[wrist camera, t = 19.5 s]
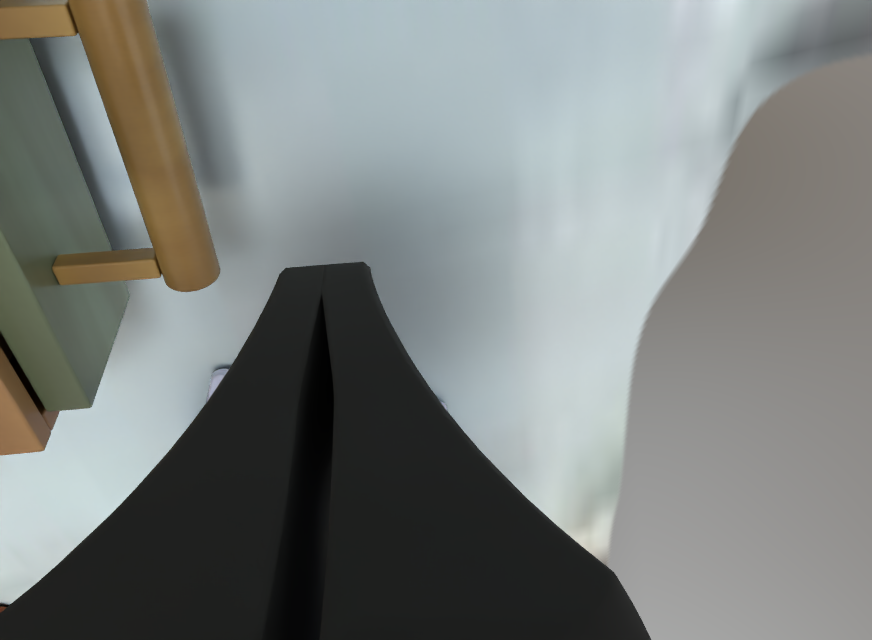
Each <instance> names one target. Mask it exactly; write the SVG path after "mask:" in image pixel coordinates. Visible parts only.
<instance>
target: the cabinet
mask: <svg viewBox="0 0 872 640" xmlns="http://www.w3.org/2000/svg"><path fill="white" fill-rule="evenodd" d="M59 412H60V411H51V412H48V411H46V409H45V408H44V406H43V404H42V402H41V401H40V399H39V397H38V396H37V394H36V392H35V390H34V389H33V387H32V385H31V384H30V382H29V380H28V378H27V377H26V375H25V373H24V372H23V370H22V368H21V367H20V365H19V363H18V361H17V360H16V358H15V356H14V355H13V354H12V356H11V358H10V360H8V359H7V357H6V355H5V354H4V352H3V350H2V348H1V347H0V455H9V454H20V453H30V452H40V451H44V450H45V447H46V445H47V442H48V440H49V437H50V434H51V430H52V429H53V427H54V424H55V422H56V419H57V417H58V414H59Z"/></svg>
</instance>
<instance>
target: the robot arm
mask: <svg viewBox="0 0 872 640" xmlns="http://www.w3.org/2000/svg"><path fill="white" fill-rule="evenodd" d="M0 640H651V638H650V636H649V634H648V632H647V630H646V628H645V626H644V624H643V622H642V620H641V618H640V616H639V614H638V612H637V610H636V609H635V607H634V605H633V603H632V601H631V600H630V598H629V596H628V595H627V593H626V591H625V589H624V588H623V586H622V585H621V583H620V581H619V580H618V578H617V576H616V575H615V574H614V572H613V571H612V570H611V569H609V568H608V567H607V566H606V565H604V564H603V563H602V562H601V561H599V560H598V559H597V558H595V557H594V556H593V555H592V554H590V553H589V552H588V551H587V550H585V549H584V548H583V547H582V546H581V545H579V544H578V543H577V542H576V541H575V540H573V539H572V538H571V537H570V536H569V535H567V534H566V533H565V532H564V531H563V530H562V529H560V528H559V527H558V526H557V525H556V524H555V523H553V522H552V521H551V520H550V519H549V518H548V517H547V516H546V515H545V514H544V513H542V512H541V511H540V510H539V509H538V508H537V507H536V506H535V505H534V504H533V503H531V502H530V501H529V500H528V499H527V498H526V497H525V496H524V495H523V494H522V493H521V492H520V491H519V490H518V489H517V488H516V487H515V486H514V485H513V484H512V483H511V482H510V481H509V480H508V479H507V478H506V477H505V476H504V475H503V474H502V473H501V472H500V471H499V470H498V469H497V468H496V467H495V466H494V465H493V464H492V463H491V461H490V460H489V459H488V458H487V457H486V456H485V455H484V454H483V453H482V452H481V451H480V450H479V449H478V448H477V446H476V445H475V444H474V443H473V442H472V441H471V439H470V438H469V437H468V436H467V435H466V434H465V432H464V431H463V430H462V429H461V428H460V426H459V425H458V424H457V423H456V421H455V420H454V419H453V418H452V416H451V415H450V414H449V413H448V409H447V406H446V404H445V403H444V402H441V401H439V400H438V398H437V397H436V395H435V394H434V393H433V391H432V390H431V388H430V387H429V386H428V384H427V383H426V381H425V380H424V378H423V377H422V375H421V374H420V372H419V371H418V369H417V368H416V366H415V364H414V363H413V361H412V360H411V358H410V356H409V355H408V353H407V352H406V350H405V348H404V346H403V344H402V343H401V341H400V339H399V337H398V335H397V334H396V332H395V330H394V328H393V326H392V325H391V323H390V321H389V319H388V317H387V315H386V312H385V310H384V308H383V306H382V303H381V301H380V299H379V296H378V294H377V291H376V288H375V286H374V282H373V279H372V275H371V269H370V267H369V266H368V265H366V264H365V263H364V262H355V263H342V264H329V265H316V266H303V267H290V268H285V269H284V270H283V271H282V272H281V273H280V274H279V277H278V279H277V282H276V284H275V286H274V289H273V291H272V293H271V295H270V297H269V299H268V302H267V304H266V306H265V308H264V309H263V311H262V313H261V315H260V317H259V319H258V321H257V323H256V325H255V327H254V328H253V330H252V332H251V333H250V335H249V337H248V339H247V340H246V342H245V344H244V346H243V347H242V349H241V351H240V352H239V354H238V356H237V358H236V359H235V361H234V362H233V364H232V366H231V367H230V369H219V370H216V371H215V372H213V374H212V376H211V380H210V386H209V391H208V396H207V401H206V404H205V406H204V407H203V408H202V410H201V411H200V412H199V414H198V415H197V416H196V418H195V419H194V420H193V422H192V423H191V424H190V426H189V427H188V428H187V429H186V431H185V432H184V433H183V435H182V436H181V437H180V438H179V439H178V441H177V442H176V443H175V444H174V446H173V447H172V448H171V449H170V450H169V452H168V453H167V454H166V455H165V456H164V458H163V459H162V460H161V461H160V462H159V463H158V464H157V465H156V467H155V468H154V469H153V470H152V471H151V472H150V473H149V474H148V475H147V477H146V478H145V479H144V480H143V481H142V482H141V483H140V484H139V485H138V487H137V488H136V489H135V490H134V491H133V492H132V493H131V494H130V495H129V496H128V497H127V498H126V499H125V500H124V501H123V503H122V504H121V505H120V506H119V507H118V508H117V509H116V510H115V511H114V512H113V513H112V514H111V515H110V516H109V517H108V518H107V519H106V520H105V521H103V522H102V523H101V524H100V525H99V526H98V527H97V528H96V529H95V530H94V531H93V532H92V533H91V534H90V535H89V536H88V537H86V538H85V539H84V540H83V541H82V542H81V543H80V544H79V545H78V546H77V547H76V548H75V549H74V550H73V551H72V552H71V553H70V554H68V555H67V556H66V557H65V558H64V559H63V560H62V561H61V562H60V563H59V564H58V565H57V566H56V567H54V568H53V569H52V570H51V571H50V572H49V573H48V574H47V575H45V576H44V577H43V578H42V579H41V580H40V581H39V582H38V583H36V584H35V585H34V586H33V587H31V588H30V589H29V590H28V591H27V592H25V593H24V594H23V595H22V596H20V597H19V598H18V599H17V600H15V601H14V602H13V603H12V604H10V605H9V606H8V607H7V608H6V609H4V610H3V611H2V612H1V613H0Z"/></svg>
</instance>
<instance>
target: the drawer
mask: <svg viewBox="0 0 872 640" xmlns="http://www.w3.org/2000/svg"><path fill="white" fill-rule="evenodd" d="M78 32H79V35H80V38H81V41H82V43H83V46H84V49H85V52H86V55H87V58H88V61H89V64H90V67H91V69H92V72H93V75H94V78H95V81H96V84H97V87H98V90H99V93H100V95H101V98H102V101H103V104H104V107H105V110H106V113H107V116H108V119H109V121H110V124H111V127H112V130H113V133H114V136H115V139H116V142H117V145H118V147H119V150H120V153H121V156H122V159H123V162H124V165H125V168H126V171H127V173H128V176H129V179H130V182H131V185H132V188H133V191H134V194H135V197H136V199H137V202H138V205H139V208H140V211H141V214H142V217H143V220H144V223H145V225H146V228H147V231H148V234H149V237H150V240H151V243H152V246H153V248H140V249H127V250H114V251H113V250H112V248H111V245H110V242H109V240H108V237H107V235H106V232H105V230H104V227H103V225H102V222H101V220H100V217H99V215H98V212H97V210H96V207H95V205H94V202H93V199H92V197H91V194H90V192H89V189H88V187H87V184H86V182H85V179H84V177H83V174H82V172H81V169H80V167H79V164H78V162H77V159H76V156H75V154H74V151H73V149H72V146H71V144H70V141H69V139H68V136H67V134H66V131H65V129H64V126H63V124H62V121H61V119H60V116H59V114H58V111H57V108H56V106H55V103H54V101H53V98H52V96H51V93H50V91H49V88H48V86H47V83H46V81H45V78H44V76H43V73H42V71H41V68H40V65H39V63H38V60H37V58H36V55H35V53H34V50H33V48H32V45H31V43H30V40H29V38H44V37H65V36H75V35H77V34H78ZM161 274H163V277H164V280H165V283H166V285H167V286H168V287H170V288H171V289H173V290H176V291H180V292H191V291H197V290H200V289H203V288H205V287H207V286H209V285H211V284H212V283H213V282H215V281H216V280H217V278H218V277H219V274H220V266H219V262H218V259H217V255H216V251H215V248H214V244H213V240H212V237H211V233H210V229H209V226H208V222H207V219H206V215H205V211H204V208H203V204H202V200H201V197H200V193H199V189H198V186H197V182H196V178H195V175H194V171H193V167H192V164H191V160H190V156H189V153H188V149H187V146H186V142H185V138H184V135H183V131H182V127H181V124H180V120H179V116H178V113H177V109H176V105H175V102H174V98H173V94H172V91H171V87H170V83H169V80H168V76H167V72H166V69H165V65H164V62H163V58H162V54H161V51H160V47H159V43H158V40H157V36H156V32H155V29H154V25H153V21H152V18H151V14H150V10H149V7H148V3H147V0H0V347H1V348H2V350H3V352H4V354H5V355H6V357H7V359H8V360H10V358H11V356H12V354H13V355H14V356H15V358H16V360H17V361H18V363H19V365H20V367H21V368H22V370H23V372H24V373H25V375H26V377H27V378H28V380H29V382H30V384H31V385H32V387H33V389H34V390H35V392H36V394H37V396H38V397H39V399H40V401H41V402H42V404H43V406H44V408H45V409H46V411H48V412H51V411H62V410H73V409H84V408H90V407H92V404H93V402H94V399H95V396H96V393H97V390H98V387H99V384H100V381H101V378H102V376H103V373H104V370H105V367H106V364H107V361H108V358H109V355H110V352H111V350H112V347H113V344H114V341H115V338H116V335H117V332H118V329H119V326H120V323H121V321H122V318H123V315H124V312H125V309H126V306H127V303H128V300H129V297H130V293H129V291H128V288H127V285H126V283H125V281H127V280H139V279H152V278H160V277H161Z"/></svg>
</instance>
